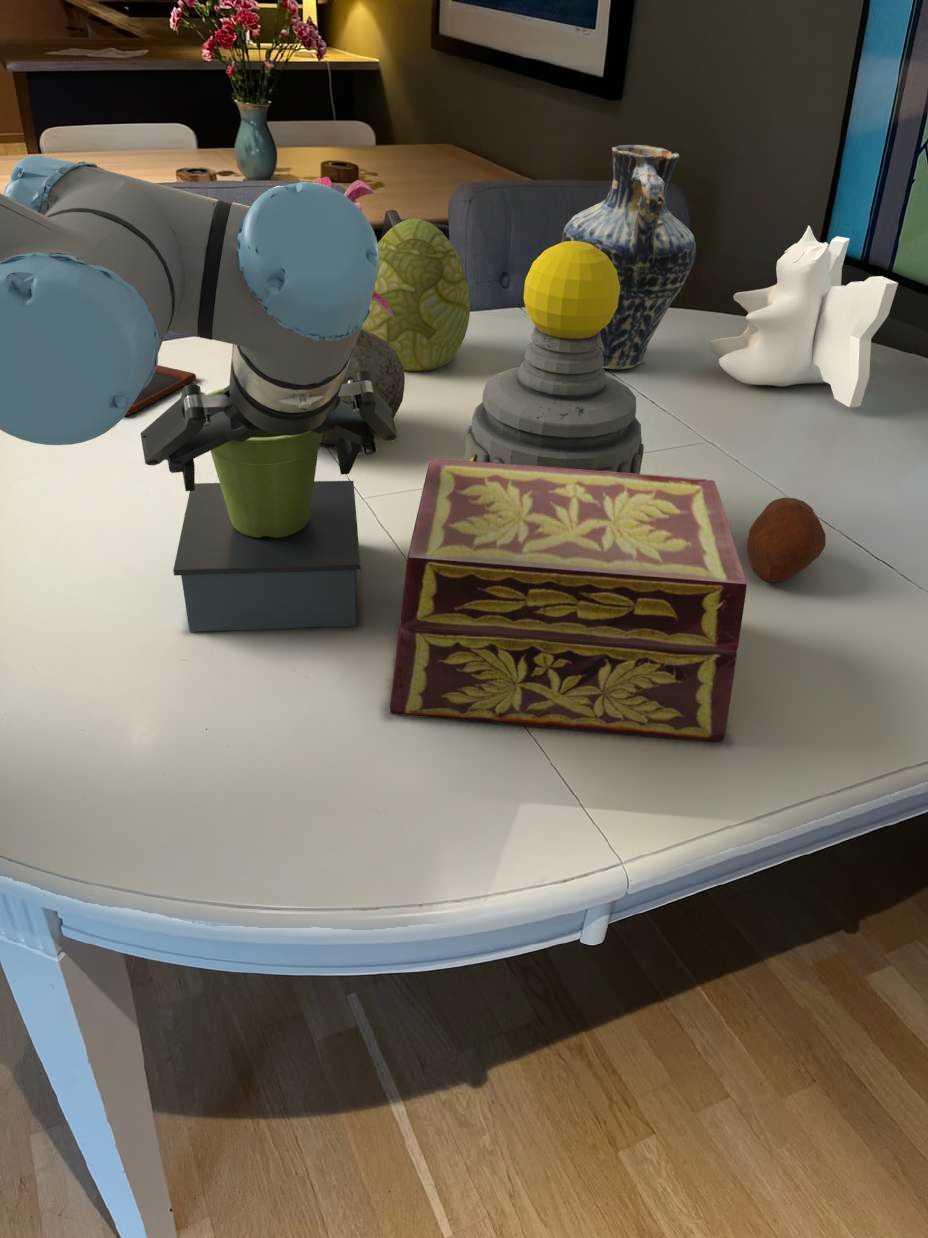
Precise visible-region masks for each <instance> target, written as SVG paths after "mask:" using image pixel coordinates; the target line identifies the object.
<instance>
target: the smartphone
mask: <svg viewBox="0 0 928 1238" xmlns="http://www.w3.org/2000/svg"><path fill="white" fill-rule="evenodd" d="M196 378H197V375H196V373H194V372H190V371H186V370H181V369H177V368H173V367H169V366H164V365H161V364H157V367H156V370H155V373H154V375H153V377H152V379H151V381H150V383H149V385H148V386H147V387H145V388H144V389H142V390H141V392H140V393H139V395H138V397H137V398H136V400H135V401H134V403H133V404H132V406H131V407H130V409H129V410H128V412H127V414H126V415H125V416H129V415H132V414H133V413H136V412H138V411H139V410H142V409H144V408H145V407H147V406H149V405H151V404H153V403H154V402H156V401H158V400H160V399H162V398H164V397H165V396H168V395H169V394H171V393H173V392H175V391H177V390H178V389H181V388H182V387H185V386H187V384H188V385H189V383H191V382H193V381H195V380H196Z"/></svg>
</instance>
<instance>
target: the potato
mask: <svg viewBox="0 0 928 1238" xmlns="http://www.w3.org/2000/svg"><path fill="white" fill-rule="evenodd" d="M826 542H827V541H826V532H825V530H824V527H823V526H822V523H821V521H820V520H819V517H818V516H817V514H816V513H815V511H814V509H813V508H812V506H810V505H809V504H808V503H806V502H805V501H804V500H801V499H799V498H795V497H781V498H777V499H774V500H772V501H770V502H769V503H768V504H767V505H766V507H765V508H764V509H763V510H762V512H761V513H760V514H759V515H758V516H757V518H756V519H755V520H754V522H753V524H751V526H750V528H749V531H748V535H747V540H746V549H747V557H748V561H749V563H750V566H751V568H752V571H753V572H754V573H755V574H756V576H757V577H758V578H759V579H761V580H763V581H767V582H770V583H773V582H774V583H775V582H783V581H786V580H788V579H791V578H793V577H795V576H796V575H797V574H799V573H800V572H802V571H803V570H805V569H806V568H808V566H810V565H811V564H812V563H813V562H814V561H815V560H816V559H817V558H819V556H820V555H821V554H822V552H823V551H824V549H825V547H826V546H827V545H826Z"/></svg>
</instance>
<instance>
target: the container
mask: <svg viewBox="0 0 928 1238" xmlns="http://www.w3.org/2000/svg"><path fill="white" fill-rule="evenodd" d="M356 507H357V506H356V496H355V483H354V480H321V481H320V480H314V487H313V494H312V502H311V510H310V517H309V520H308V523H307V524H306V526H305V527H304V528H303V529H301V530H300V531H298V532H296V533H294V534H292V535H289V536H285V537H281V538H274V537H269V536H263V537H260V538H255V537H251V536H247V535H245V534H242V533H240V532H239V531H238V530H236V529H235V528H234V527H233V525H232V523H231V520H230V516H229V513H228V510H227V506H226V503H225V499H224V496H223V492H222V489H221V485H220V482H198V483H197V482H195V491H189V493H188V498H187V502H186V507H185V513H184V516H183V522H182V526H181V532H180V536H179V541H178V545H177V550H176V556H175V560H174V561H175V562H174V565H173V570H172V571H173V576H175V577H176V576H181V577H180V578H181V584H182V591H183V598H184V605H185V613H186V617H187V625H188V631H189V632H190V633H193V632H195V633H196V632H219V631H221V632H223V631H245V630H269V629H270V630H272V629H297V628H298V629H299V628H300V629H301V628H322V627H323V628H325V627H327V628H328V627H350V626H351V627H352V626H354V627H355V626H356V625H357V620H356V619H357V617H356V616H357V615H356V614H357V613H356V573H355V572H356V571H361V569H362V567H361V555H360V543H359V541H360V540H359V531H358V529H359V528H358V519H357V518H358V517H357V508H356Z"/></svg>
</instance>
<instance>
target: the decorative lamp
mask: <svg viewBox="0 0 928 1238" xmlns="http://www.w3.org/2000/svg"><path fill="white" fill-rule="evenodd" d="M523 289H524V290H523V303H524V306H525V309H526V314H527V316H528V317H529V319H530V320H531V322H532V323H533V324H534V328H533V330H532V333H531V337H530V341H531V342H529V343H528V344H527V347H526V350H525V353H524V355H523V358H524V360H523V361H522V362H521V363H520V366H517V367H512V368H510V369H507V370H504V371H501V372H498V373H496V374H495V375H493V376H492V377H491V378H490V379H488V380H487V381H486V382H485V385H484V388H483V392H482V399H481V403H479V404H478V405H477V406H475V408H474V411H473V415H472V418H471V425H468V427H467V430H466V439H465V458H464V459H465V460H464V461H476V462H490V463H503V464H516V465H529V466H542V467H555V468H568V469H581V470H594V471H607V472H620V473H634V474H641V471H642V470H641V469H642V462H643V458H644V457H643V456H644V451H645V446H644V443H642V442H643V437H642V424H641V422H640V421H639V420H638V419H637V417H636V415H637V396H636V395H635V394H634V392H632V390H631V389H630V387H628V386H627V385H626V384H624V383H623V382H620V381H619V380H617V379H616V378H615V377H612V376H610V375H608V374H606V370H605V368H602V366H603V364H604V359H603V351H602V350H601V349H600V348H599V347H600V346H601V335H600V331H601V330H602V329H603V328H604V327H605V326H606V325H607V324H608V323H609V322H610V321H611V319H612V317H613V315H614V313H615V311H616V309H617V306H618V299H619V292H620V285H619V280H618V275H617V271H616V269H615V267H614V265H613V264H612V262H611V261H610V259H609V258H608V256H607V255H606V254H605V253H603V252H602V251H600V250H599V249H597V248H596V247H595V246H593V245H591V244H589V243H585V242H579V241H566V242H562V241H561V242H560V243H557V244H555V245H553V246H550V247H548V248H547V249H545V250H544V251H542V253H541V254H540V255H539V256H537V258H536V259H535V260H534V261H533V262H532V264H531V266H530V269H529V271H528V273H527V275H526V277H525V280H524V288H523Z"/></svg>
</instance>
